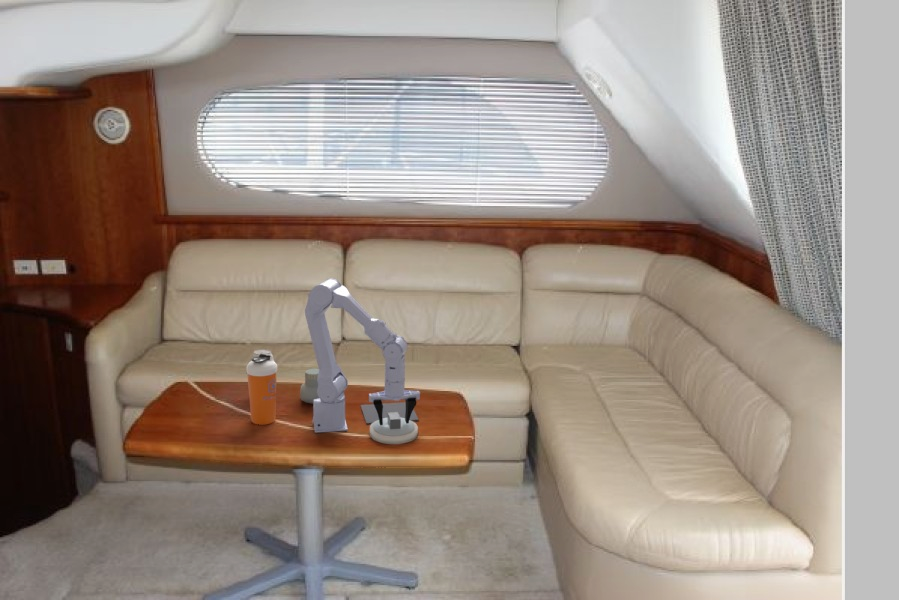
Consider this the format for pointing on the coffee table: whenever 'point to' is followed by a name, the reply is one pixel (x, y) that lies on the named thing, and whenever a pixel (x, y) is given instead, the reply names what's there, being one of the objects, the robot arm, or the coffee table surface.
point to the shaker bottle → (262, 389)
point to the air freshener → (309, 386)
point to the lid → (393, 425)
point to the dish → (393, 439)
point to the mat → (386, 411)
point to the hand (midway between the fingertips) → (394, 422)
